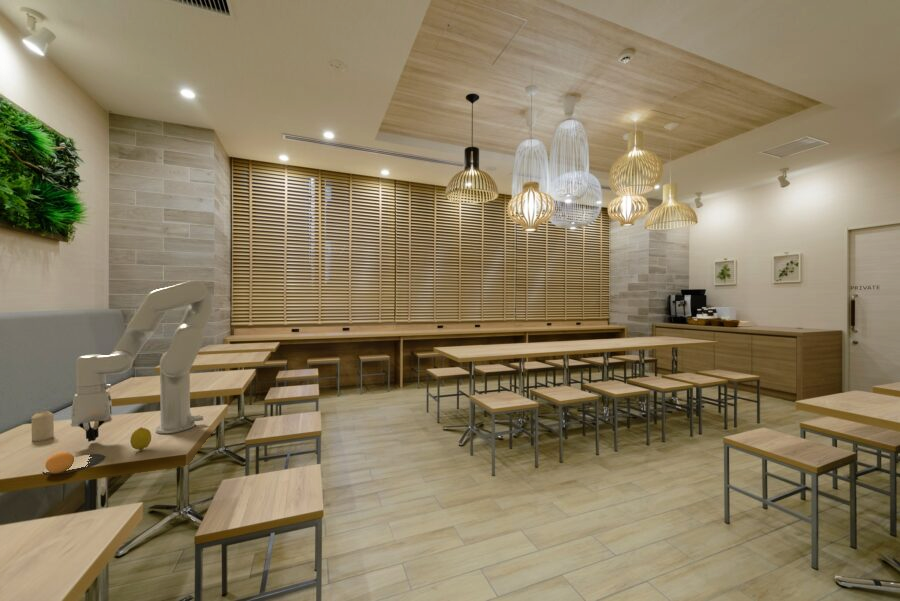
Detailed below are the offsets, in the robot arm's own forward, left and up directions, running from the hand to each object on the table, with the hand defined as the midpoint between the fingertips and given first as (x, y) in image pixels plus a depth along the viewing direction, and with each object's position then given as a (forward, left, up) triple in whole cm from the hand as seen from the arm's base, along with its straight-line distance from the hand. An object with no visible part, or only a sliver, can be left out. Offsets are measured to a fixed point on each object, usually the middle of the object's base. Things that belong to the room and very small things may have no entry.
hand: (92, 439), depth 134 cm
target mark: (0, +19, -1) cm, 19 cm away
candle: (+17, -16, -2) cm, 23 cm away
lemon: (-16, +17, -2) cm, 23 cm away
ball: (+2, +24, +2) cm, 24 cm away
